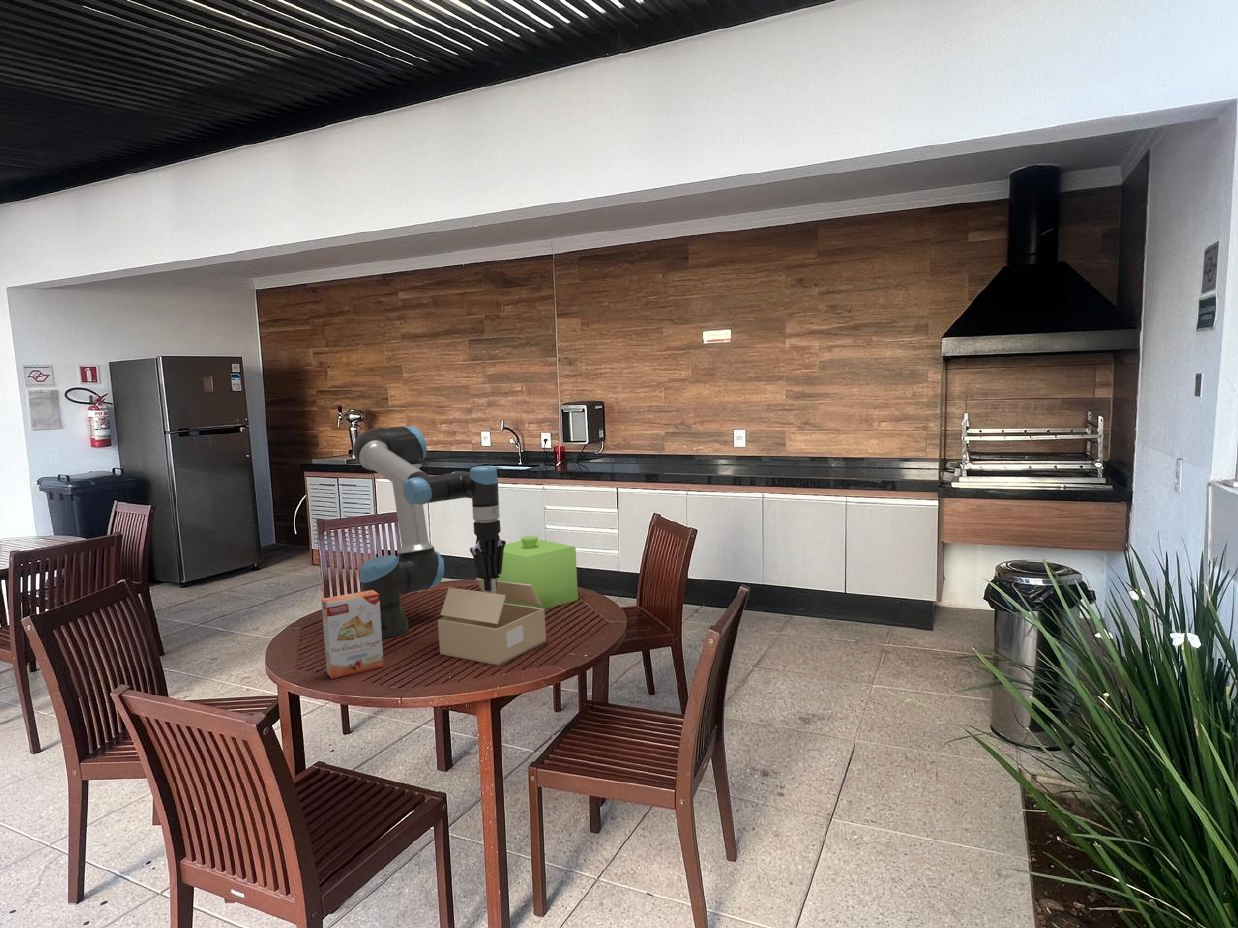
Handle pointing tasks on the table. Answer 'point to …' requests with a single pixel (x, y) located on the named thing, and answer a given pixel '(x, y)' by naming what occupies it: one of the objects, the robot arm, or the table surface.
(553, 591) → the canister
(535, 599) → the flap
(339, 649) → the cracker box
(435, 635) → the table surface
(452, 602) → the flap
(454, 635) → the carton
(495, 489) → the robot arm
